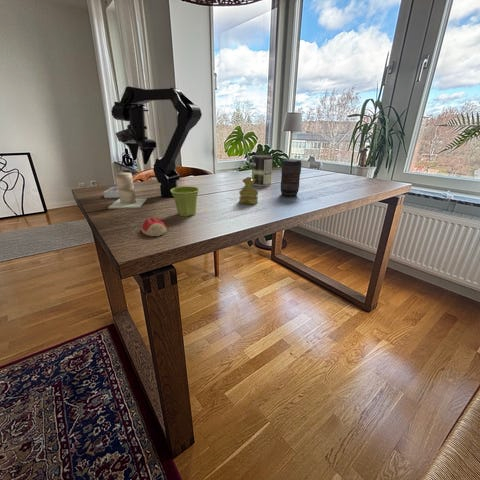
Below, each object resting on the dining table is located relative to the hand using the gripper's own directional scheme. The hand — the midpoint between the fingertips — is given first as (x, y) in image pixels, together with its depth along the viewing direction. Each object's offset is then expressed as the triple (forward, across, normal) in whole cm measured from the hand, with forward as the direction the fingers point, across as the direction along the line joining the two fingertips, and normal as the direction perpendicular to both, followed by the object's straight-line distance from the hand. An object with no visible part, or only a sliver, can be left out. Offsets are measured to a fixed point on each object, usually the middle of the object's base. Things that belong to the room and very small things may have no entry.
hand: (139, 162), depth 112 cm
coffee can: (+9, +28, +51) cm, 59 cm away
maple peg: (+12, +13, -13) cm, 22 cm away
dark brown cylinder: (+7, +51, +42) cm, 67 cm away
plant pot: (+10, +39, -4) cm, 41 cm away
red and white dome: (+11, +45, -20) cm, 51 cm away
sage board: (+13, +13, -13) cm, 22 cm away
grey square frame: (+14, -2, -9) cm, 17 cm away
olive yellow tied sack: (+9, +45, +22) cm, 51 cm away
